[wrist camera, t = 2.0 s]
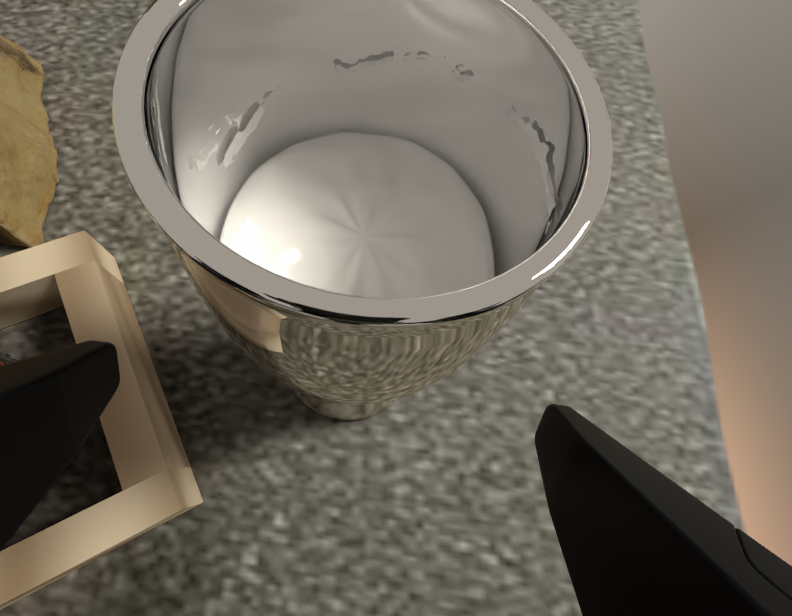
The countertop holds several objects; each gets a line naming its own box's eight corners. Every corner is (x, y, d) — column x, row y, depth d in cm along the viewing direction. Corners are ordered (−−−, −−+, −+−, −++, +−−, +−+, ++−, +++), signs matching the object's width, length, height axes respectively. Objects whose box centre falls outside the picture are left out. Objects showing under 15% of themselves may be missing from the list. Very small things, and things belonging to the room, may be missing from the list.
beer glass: (253, 413, 18) (-42, 260, 4) (296, 272, 20) (209, -128, 6) (408, 445, 18) (638, 406, 4) (432, 303, 21) (625, -10, 7)
